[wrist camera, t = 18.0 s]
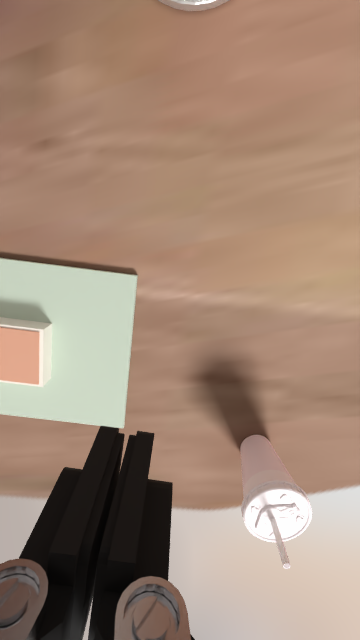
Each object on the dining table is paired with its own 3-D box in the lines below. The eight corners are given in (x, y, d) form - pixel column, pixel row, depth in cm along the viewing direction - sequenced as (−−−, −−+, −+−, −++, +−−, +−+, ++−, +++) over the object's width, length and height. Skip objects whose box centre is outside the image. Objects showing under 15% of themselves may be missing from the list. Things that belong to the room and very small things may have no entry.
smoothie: (219, 441, 39) (237, 553, 25) (265, 415, 38) (310, 518, 24) (246, 478, 40) (277, 603, 27) (292, 454, 39) (348, 572, 26)
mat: (-57, 250, 33) (-61, 250, 33) (137, 275, 34) (136, 275, 33) (-46, 405, 38) (-49, 408, 37) (124, 425, 38) (123, 428, 38)
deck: (52, 323, 35) (-33, 312, 34) (42, 330, 32) (-48, 318, 32) (51, 377, 36) (-30, 368, 36) (42, 387, 34) (-45, 377, 34)
